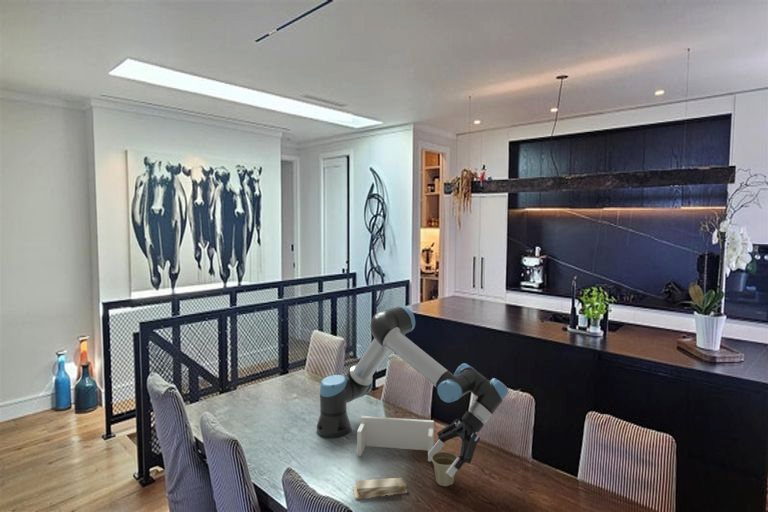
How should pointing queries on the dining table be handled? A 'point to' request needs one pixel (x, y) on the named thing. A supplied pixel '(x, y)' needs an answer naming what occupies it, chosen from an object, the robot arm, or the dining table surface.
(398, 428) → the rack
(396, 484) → the offcut stack
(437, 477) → the flower pot
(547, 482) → the dining table surface
